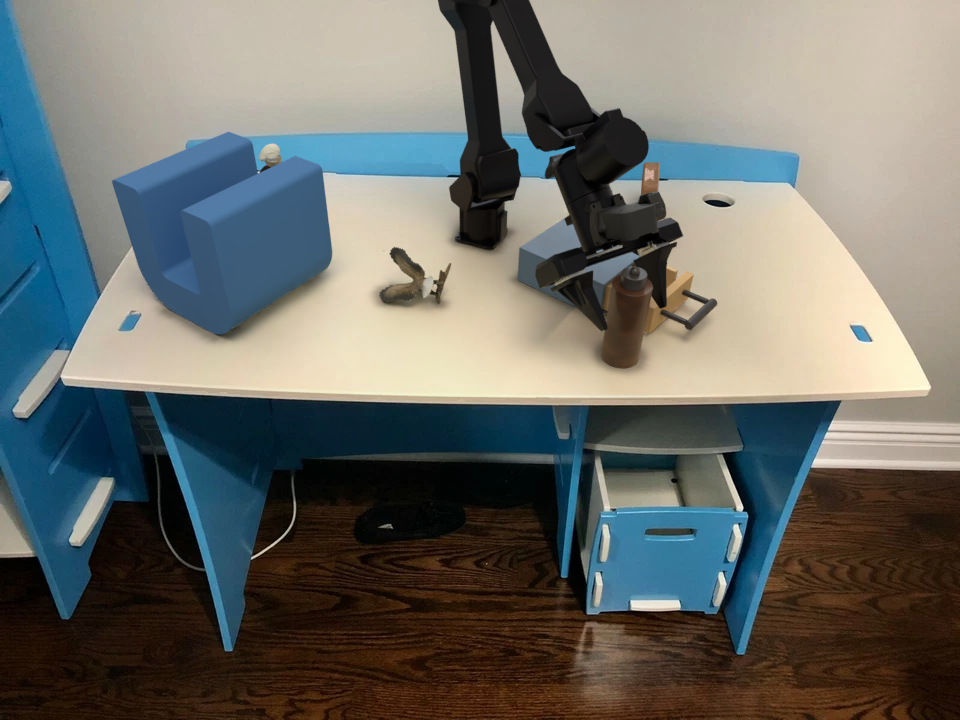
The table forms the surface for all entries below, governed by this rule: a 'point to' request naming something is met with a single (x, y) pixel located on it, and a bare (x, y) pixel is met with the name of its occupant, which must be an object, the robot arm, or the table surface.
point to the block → (225, 229)
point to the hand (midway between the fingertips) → (634, 318)
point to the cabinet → (561, 241)
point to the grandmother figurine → (270, 156)
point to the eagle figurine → (418, 283)
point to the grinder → (626, 317)
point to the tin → (650, 177)
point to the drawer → (672, 301)
